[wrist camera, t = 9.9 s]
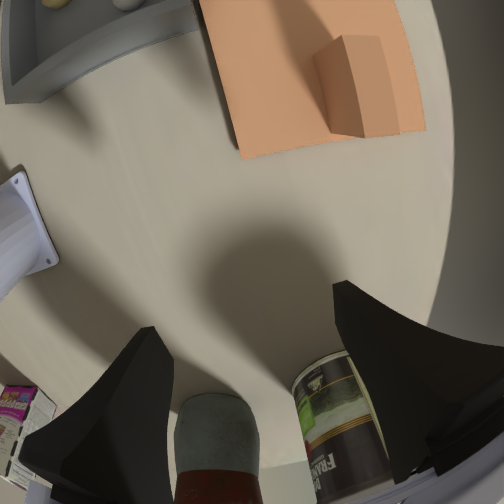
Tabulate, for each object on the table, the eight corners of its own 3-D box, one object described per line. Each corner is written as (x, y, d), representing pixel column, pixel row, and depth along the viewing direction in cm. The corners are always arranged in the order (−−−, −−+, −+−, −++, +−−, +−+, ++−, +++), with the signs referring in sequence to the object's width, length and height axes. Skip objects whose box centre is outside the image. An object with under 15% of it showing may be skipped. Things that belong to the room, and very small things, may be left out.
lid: (241, 157, 16) (247, 172, 11) (194, -15, 11) (183, -61, 5) (414, 129, 16) (470, 138, 11) (372, -23, 10) (412, -51, 5)
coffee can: (287, 411, 29) (308, 515, 16) (295, 356, 24) (333, 497, 11) (366, 396, 29) (402, 487, 17) (391, 340, 25) (452, 449, 12)
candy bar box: (24, 403, 28) (-2, 475, 13) (5, 384, 26) (-27, 457, 11) (60, 406, 28) (33, 496, 13) (38, 385, 25) (3, 478, 11)
